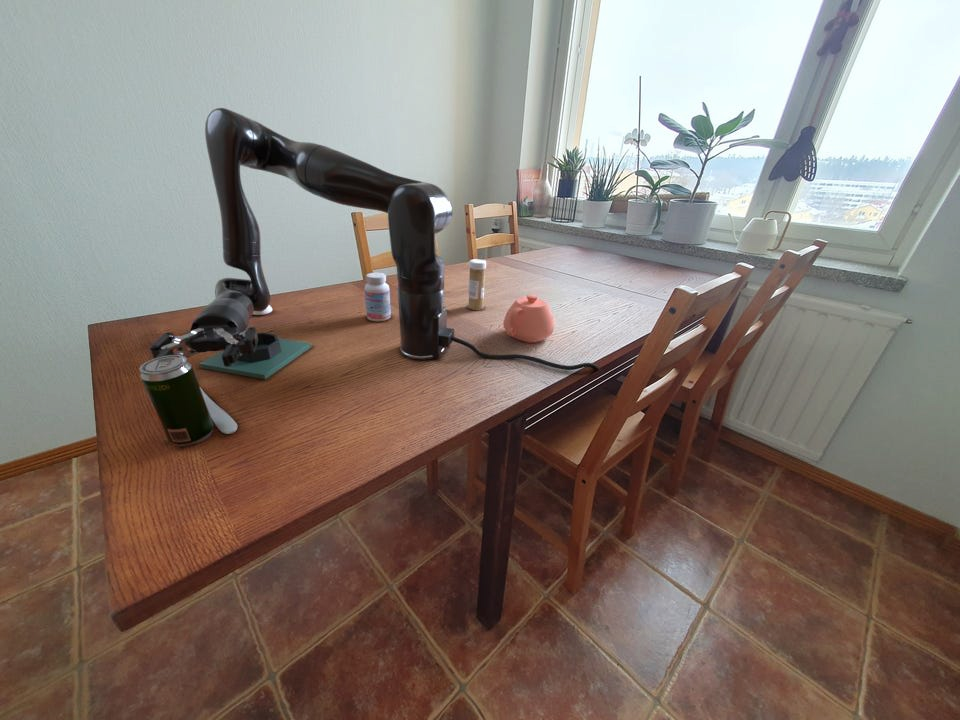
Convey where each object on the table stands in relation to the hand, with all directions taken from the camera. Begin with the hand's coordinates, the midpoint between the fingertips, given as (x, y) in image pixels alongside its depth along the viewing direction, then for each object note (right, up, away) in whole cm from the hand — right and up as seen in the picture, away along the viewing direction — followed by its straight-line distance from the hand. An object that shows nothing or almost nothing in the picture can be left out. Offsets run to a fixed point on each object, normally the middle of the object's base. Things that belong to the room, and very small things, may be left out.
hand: (193, 364), depth 57 cm
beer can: (+2, -11, -3) cm, 11 cm away
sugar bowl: (+55, +6, +34) cm, 65 cm away
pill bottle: (+18, +11, +40) cm, 45 cm away
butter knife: (-3, -6, +5) cm, 8 cm away
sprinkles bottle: (+43, +15, +50) cm, 67 cm away
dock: (-1, +1, +18) cm, 18 cm away
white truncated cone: (-12, +13, +38) cm, 42 cm away
